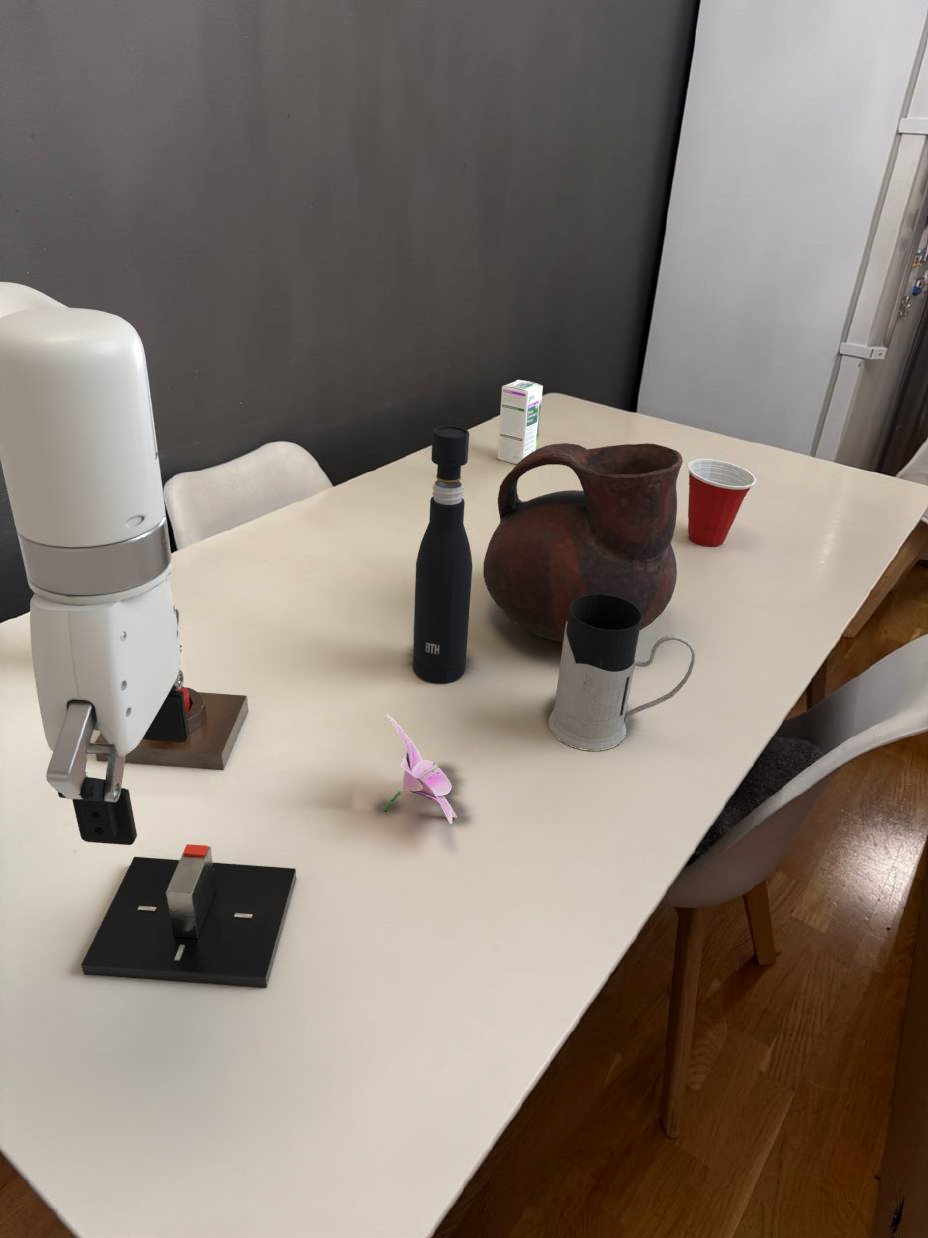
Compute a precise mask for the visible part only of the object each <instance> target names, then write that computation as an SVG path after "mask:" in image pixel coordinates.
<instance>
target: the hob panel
mask: <svg viewBox="0 0 928 1238" xmlns="http://www.w3.org/2000/svg"><path fill="white" fill-rule="evenodd" d="M179 861H180V859H173V858H172V859H170V858H159V857H158V858H157V857H145V856H133V858H132V860H131V862H130V864H129V867H128V868H127V870H126V872H125V874H124V876H123V879H122V880H121V883H120V884H119V887H118V889H117V890H116V893H115V895H114V897H113V898H112V901H111V903H110V904H109V906H108V909H107V911H106V913H105V915H104V917H103V919H102V921H101V923H100V925H99V928H98V929H97V932H96V933H95V934H94V935H95V936H94V937H93V940H92V941H91V943H90V946H89V948H88V950H87V952H86V953H85V955H84V957H83V960H82V962H81V964H80V965H81V969H82V974H83V975H84V976H97V977H111V978H124V979H139V980H152V981H163V982H164V981H165V982H177V983H189V984H190V983H191V984H203V985H216V986H217V985H218V986H231V987H243V988H258V989H267V988H268V984H269V982H270V981H269V980H270V977H271V975H272V974H271V973H272V971H273V966H274V963H275V959H276V954H277V951H278V948H279V945H280V940H281V936H282V932H283V929H284V926H285V921H286V918H287V914H288V911H289V907H290V903H291V900H292V896H293V892H294V889H295V885H296V881H297V869H296V868H295V867H282V866H281V867H280V866H267V865H255V864H254V865H252V864H238V863H227V862H215V861H214V862H213V861H212V862H213V870H214V877H215V885H216V891H215V894H214V897H213V899H212V902H211V905H210V907H209V910H208V913H207V916H206V918H205V921H204V924H203V927H202V929H201V932H200V935H199V937H198V938H197V939H196V938H183V937H173V932H172V926H171V920H170V914H169V909H168V903H167V897H166V891H167V889H168V886H169V884H170V882H171V880H172V877H173V875H174V873H175V870H176V868H177V866H178V863H179Z"/></svg>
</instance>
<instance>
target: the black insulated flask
mask: <svg viewBox="0 0 928 1238" xmlns="http://www.w3.org/2000/svg"><path fill="white" fill-rule="evenodd" d="M431 433H432V434H431V435H432V436H431V457H430V458H431V462H432V463H433V464H435V465H437V466H436V467H437V470H436V475H435V477H436V480H435V481H434V484H433V486H432V490H433V491H432V496H431V497H430V500H429V519H428V520H429V521H428V524H427V527H426V529H425V531H424V534H423V536H422V539H421V541H420V544H419V548H418V551H417V556H416V561H415V581H414V610H413V611H414V613H413V618H414V619H413V640H412V641H413V645H412V671H413V673H414V675H415V676H416V677H417V678H418V679H421V680H422V681H424V682H427V683H430V684H437V685H441V684H443V685H444V684H450V683H454V682H456V681H458V680H460V679H461V678H462V677H463V676H464V675H465V672H466V666H467V665H466V664H467V653H468V652H467V651H468V636H469V621H470V608H471V594H472V592H471V591H472V577H473V557H472V550H471V544H470V541H469V538H468V534H467V530H466V528H465V524H464V521H465V519H464V518H465V506H466V505H465V504H466V501H465V499H464V498H463V497H464V493H463V492H464V486H463V483H462V481H461V480H462V476H461V474H462V473H461V472H462V466H465V465H466V464H468V461H469V450H470V449H469V448H470V447H469V446H470V432H469V430H468V429H467V428H464V427H462V426H458V425H441V426H436V427H435V428H433V429H432V432H431Z"/></svg>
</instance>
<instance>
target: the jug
mask: <svg viewBox="0 0 928 1238" xmlns="http://www.w3.org/2000/svg"><path fill="white" fill-rule="evenodd" d="M683 462H684V460H683V456H682V454H681V452H679V451H678V450H676V449H674V448H670V447H668V446H665V445H661V444H657V443H645V442H644V443H632V444H631V443H626V444H625V443H624V444H617V445H616V444H615V445H607V446H601V447H594V448H586V447H584V446H582V445H579V444H575V443H568V442H562V443H552V444H548V445H544V446H542V447H540V448H539V447H538V448H537V450H535V451H533V452H532V453H530V454H529V455H527V456H526V457H524V458H523V459H522V460H521V461H520V462H519V463H518V464H515V466H514V467H513V468H512V469H511V471H509V472H508V474H506V476H505V477H504V478H503V480H502V481H501V483H500V485H499V488H498V489H499V490H498V493H497V494H498V495H497V510H498V514H499V523H498V525H497V527H496V528H495V530H494V531H493V533H492V535H491V538H490V540H489V542H488V545H487V549H486V552H485V555H484V561H483V567H482V575H483V579H484V584H485V586H486V589H487V592H488V594H489V595H490V597H491V599H492V600H493V601H494V603H495V604H496V605H497V607H498V608H499V609H500V610H501V611H502V612H503V613H504V614H505V615H506V616H507V618H509V619H510V620H511V622H513V623H514V624H516V625H518V626H519V627H520V628H522V629H524V630H525V631H527V632H528V633H531V634H533V635H536V636H538V637H540V638H543V639H547V640H551V641H553V642H554V641H555V642H558V643H562V644H563V641H564V634H565V627H566V622H567V621H568V617H569V610H570V605H571V603H572V602H573V601H574V600H575V599H577V598H579V597H582V596H585V595H591V594H604V595H611V596H616V597H619V598H622V599H625V600H627V601H629V602H631V603H632V604H634V605H635V606H636V607H637V608H638V609H639V610H640V612H641V614H642V620H641V626H640V631H641V630H644V629H645V628H646V627H648V626H649V625H651V624H652V623H654V622H655V621H656V619H658V618H659V617H660V616H661V614H663V612H664V611H665V610H666V608H667V607H668V605H669V603H670V602H671V600H672V598H673V595H674V591H675V588H676V584H677V576H678V569H677V568H678V567H677V559H676V555H675V551H674V548H673V545H672V541H673V537H674V534H675V530H676V525H677V514H678V493H677V481H678V477H679V474H680V471H681V467H682V465H683ZM550 465H551V466H552V465H553V466H554V465H555V466H557V465H558V466H565V467H568V468H570V469H571V470H572V471H573V472H574V473H575V475H576V476H577V479H578V480H579V483H580V486H581V488H582V490H580V489H579V490H577V489H571V490H570V489H569V490H568V489H567V490H561V491H559V490H558V491H555V492H550V493H546V494H543V495H539V496H537V497H534V498H531V499H528V500H525V501H523V500H521V499H520V498H519V494H518V482H519V479H521V477H522V476H523V475H525V474H526V473H527V472H529V471H531V470H533V469H536V468H540V467H543V466H550Z"/></svg>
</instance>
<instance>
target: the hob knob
mask: <svg viewBox="0 0 928 1238" xmlns="http://www.w3.org/2000/svg"><path fill="white" fill-rule="evenodd" d="M179 860H180V861H179V863H178V866H177V868H176V870H175V873H174V875H173V877H172V880H171V882H170V884H169V886H168V889H167V891H166V897H167V903H168V909H169V914H170V920H171V926H172V932H173V937H183V938H196V939H197V938H198V937H199V935H200V932H201V929H202V927H203V924H204V921H205V918H206V916H207V913H208V910H209V907H210V905H211V902H212V899H213V897H214V894H215V891H216V885H215V877H214V870H213V855H212V847H211V846H209V845H205V844H191V843H187V844H185V847H184V849H183V852H182V854H181V857H180V858H179Z"/></svg>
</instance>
